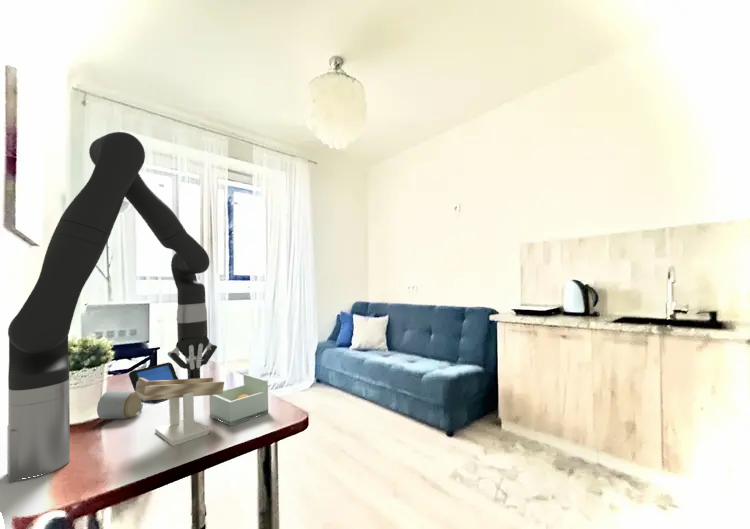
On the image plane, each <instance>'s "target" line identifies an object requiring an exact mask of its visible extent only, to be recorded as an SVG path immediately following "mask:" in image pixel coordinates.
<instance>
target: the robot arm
mask: <svg viewBox="0 0 750 529" xmlns="http://www.w3.org/2000/svg"><path fill="white" fill-rule="evenodd" d="M88 151H89V152H88V154H89V157H90V160H91V162H92V164H94V169H93V171H92V173H91V175H90V176H89V177H90V178H89V179H88V181H87V183H85V185H84V186H83V188H82V189H81V190H80V191H79V193H77V194H76V196H75V197H74V198H73V199H72V200H71V202H70V203H69V204H68V205H67V207H66V208H65V210H64V211H63V213H62V215H61V216H60V219H59V220H58V222H57V225H56V227H55V229H54V231H53V233H52V236H51V238H50V240H49V243H48V245H47V249H46V251H45V254H44V258H43V261H42V262H43V263H42V265H41V269H40V272H39V276H38V278H37V281H36V283H35V285H34V286H33V288H32V290H31V292H30V294H29V296H28V297H27V298H26V300H25V302H24V303H23V305H22V307H21V308H20V310H19V311H18V313H17V314H16V316H14V317H13V319H11V321H10V324H9V325H8V329H7V336H8V373H7V374H8V375H7V376H8V377H7V379H8V382H7V383H8V385H7V386H8V394H7V395H8V399H7V400H8V401H7V402H8V409H7V410H8V413H7V414H8V418H7V419H8V421H7V422H8V425H7V433H6V434H7V445H6V446H7V450H6V451H7V453H6V454H7V455H6V459H7V460H6V461H7V466H6V467H7V472H6V473H7V478H8V482H9V483H13V482H16V480H17V481H20V480H19V479H22V478H28V477H33V476H37V475H41V474H44V473H47V474H49V473H48V472H50V473H52V472H54V471H56V470H59V469H61V468H63V467H64V466H65V465H67V464H68V463H69V462H70V458H71V457H70V454H71V444H70V443H71V437H70V436H71V435H70V434H71V433H70V432H71V431H70V430H71V429H70V427H71V426H70V425H71V423H70V420H71V419H70V417H71V416H70V403H71V402H70V362H69V361H70V358H69V334H70V329H71V326H72V323H73V318H74V315H75V311H76V309H77V308H76V307H77V305H78V301H79V299H80V296H81V293H82V291H83V289H84V287H85V285H86V283H87V281H88V280H89V278H90V276H91V274H92V273H93V272H94V270H95V268H96V266H97V264H98V262H99V260H100V258H101V256H102V254H103V253H104V251H105V248H106V246H107V243H108V241H109V239H110V237H111V234H112V230H113V228H114V226H115V224H116V222H117V221H116V220H117V219H118V216H119V213H120V212H121V208H122V205H123V202H124V200H125V199H126V200H127V201H128V202H129V203H130V204H131V205H132V207H133V208H134V209H135V210H136V212H137V213H138V214H139V215H140V217H141V218H142V219H143V221H144V222H145V224H146V225H147V226H148V228H149V229H150V230H151V232H152V233H153V234H154V236H155V237H156V239H157V240H158V242H159V243H160V244H161V245H162V246H163V248H165V249H169V250H172V251H174V252H175V254H173V256H172V258H171V262H170V269H171V274H172V276H173V280H174V284H175V287H176V290H177V311H176V323H177V324H176V325H177V327H176V328H177V342H176V343H175V348H173V350H172V351H169V352H167V356H168V357H169V358H170V359H171V360H172V361H173V362H175V364H176V365H177V366H178V367H179V368H181V369H184V370H185V369H186V370H187V379H198V378H201V367H202V366H205V365H207V364H208V362H209V361H210V359H211V357H212V356H213V354H214V353H215V352H216V350H217V349H218V346H217V345H216V344H213V343H211V342H210V339H209V338H208V311H207V310H208V309H207V305H206V304H207V302H206V288H205V285H204V283H202V282H199V281H198V279H197V276H196V274H197V275H198V274H199V275H200V274H203V273H205V272H206V271H207V270H208V269H209V267H210V263H211V261H210V257H209V254H208V252H207V250H205V248H203V246H202V245H201V244H200V243H199V242H198V241H197V240H196V239H195V238H194V237H192V236H191V235H190V234H189V233H188V232H187V230H186V229H185V227H184V226H183V224H182V223H181V221H180V220H179V218H178V216H177V215H176V214H175V212H174V211H173V210H172V209H171V208H170V207H169V205H167V204H166V203H165V201H163V200H162V199H161V198H160V197H159V196H158V195H157V194H156V193H155V192H154V191H153V190H152V189H151V188H150V187H149V186H148V185H147V184H146V183H145V181H144V179H143V178H142V177H141V175H140V173H139V172H140V171H141V169H142V168H143V165H144V164H145V159H146V152H145V148H144V145H143V144H142V142H141V141H140V140H139V139H138V137H136V136H135V135H134V134H131V133H130V132H129V133H128V132H126V131H115V132H110V133H107V134H105V135H102V136H101V137H98V138H96V139H95V140H93V142H92V143H91V144H90V146H89V149H88ZM180 353H181V354H182V356H184V359H185V361H184V360H183V359H182V358H181V357H180ZM203 353H204V354H203ZM44 475H45V474H44ZM41 476H42V475H41Z"/></svg>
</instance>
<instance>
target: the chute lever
mask: <svg viewBox="0 0 750 529" xmlns="http://www.w3.org/2000/svg"><path fill="white" fill-rule="evenodd" d="M224 387H225V381H214V378H213V377H200V378H198V379H188V378H183V379H179V378H178V380H158V381H149V380H147V379H145V378H139V379H138V382H137V384H136V389H135V391H134V392H135V394H134V395H136V396H137V397H139V398H140V399H142V400H144V401H143V402H145V401H146V400H158V399H166V400H169V399H170V398H179V399H182V398H183V394H186V393H190V392H193V397H202V396H210V395H217V394H223V390H224Z"/></svg>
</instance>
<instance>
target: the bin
mask: <svg viewBox="0 0 750 529" xmlns="http://www.w3.org/2000/svg"><path fill="white" fill-rule="evenodd" d="M268 381H269V380H268V379H264V378H261V377H257V376H254V375H251V374H247V373H244V374H243V384H242V385H238V386H233V387H229V388H226V389H223V394H217V395H209V416H210V415H211V416H210V417H212V416H213V417H212V418H214V417H215V418H214V419H216V418H217V419H219V420H221V421H223V422H225V423H227V424H228V425H227V424H226V425H227V426H229V425H230V426H229V427H232V426H235V425H238V424H241V423H244V422H246V420H247V421H249V419H250V420H252V419H255V418H257V417H256V416H258V417H260V416H259V415H261V416H263V415H262V414H264V415H266V414H265V413H267V414H269V413H268V412H269V411H270V410H269V386H268V383H269V382H268ZM243 394H246V395H248V396H246V397H243V398H240V399H237V398H238V397H239V396H241V395H243ZM254 417H255V418H254ZM251 418H252V419H251ZM217 419H216V420H217ZM219 420H218V421H219ZM221 421H220V422H221ZM243 421H244V422H243ZM223 422H222V423H223ZM225 423H224V424H225ZM237 423H238V424H237ZM234 424H235V425H234ZM231 425H232V426H231Z"/></svg>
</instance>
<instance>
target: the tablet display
mask: <svg viewBox="0 0 750 529" xmlns="http://www.w3.org/2000/svg"><path fill="white" fill-rule="evenodd" d="M128 377H129V379H130V382H131V385H132V388H133V389H134V390H133V392H135V389H136V384H137V382H138V379H139V378H145V379H147V380H149V381H158V380H178V379H179V377H178V375H177V372H176V370H175V368H174V365H173V363H171V362H169V361H168V362H164V363H160V364H156V365H153V366H152V365H151V366H147V367H143V368H139V369H134V370H131V371H130V372H128ZM165 400H167V399H158V400H146V401H144V400H142V402H146V403H147V402H148V403H154V404H157V403H160V402H162V401H165Z"/></svg>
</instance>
